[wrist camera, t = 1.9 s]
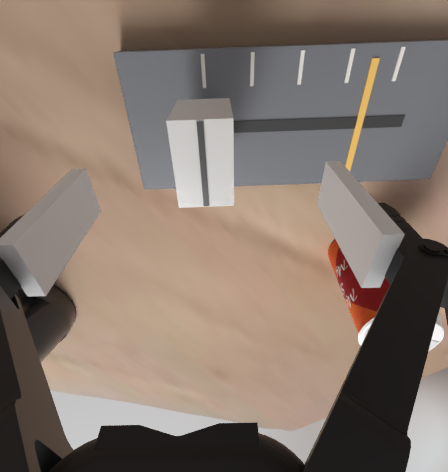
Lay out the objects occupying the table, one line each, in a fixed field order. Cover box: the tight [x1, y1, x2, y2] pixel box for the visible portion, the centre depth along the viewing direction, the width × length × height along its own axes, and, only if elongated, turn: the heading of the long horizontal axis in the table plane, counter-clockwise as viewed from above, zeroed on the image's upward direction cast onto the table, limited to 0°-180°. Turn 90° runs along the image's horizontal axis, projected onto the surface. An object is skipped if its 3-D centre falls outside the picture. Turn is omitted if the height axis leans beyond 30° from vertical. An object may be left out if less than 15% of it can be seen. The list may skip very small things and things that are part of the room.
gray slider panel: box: [114, 39, 448, 189], centre depth 26 cm, size 30×12×2 cm, turn 92°
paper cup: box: [328, 240, 444, 351], centre depth 32 cm, size 8×8×14 cm
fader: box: [166, 98, 234, 208], centre depth 21 cm, size 4×6×9 cm, turn 2°
